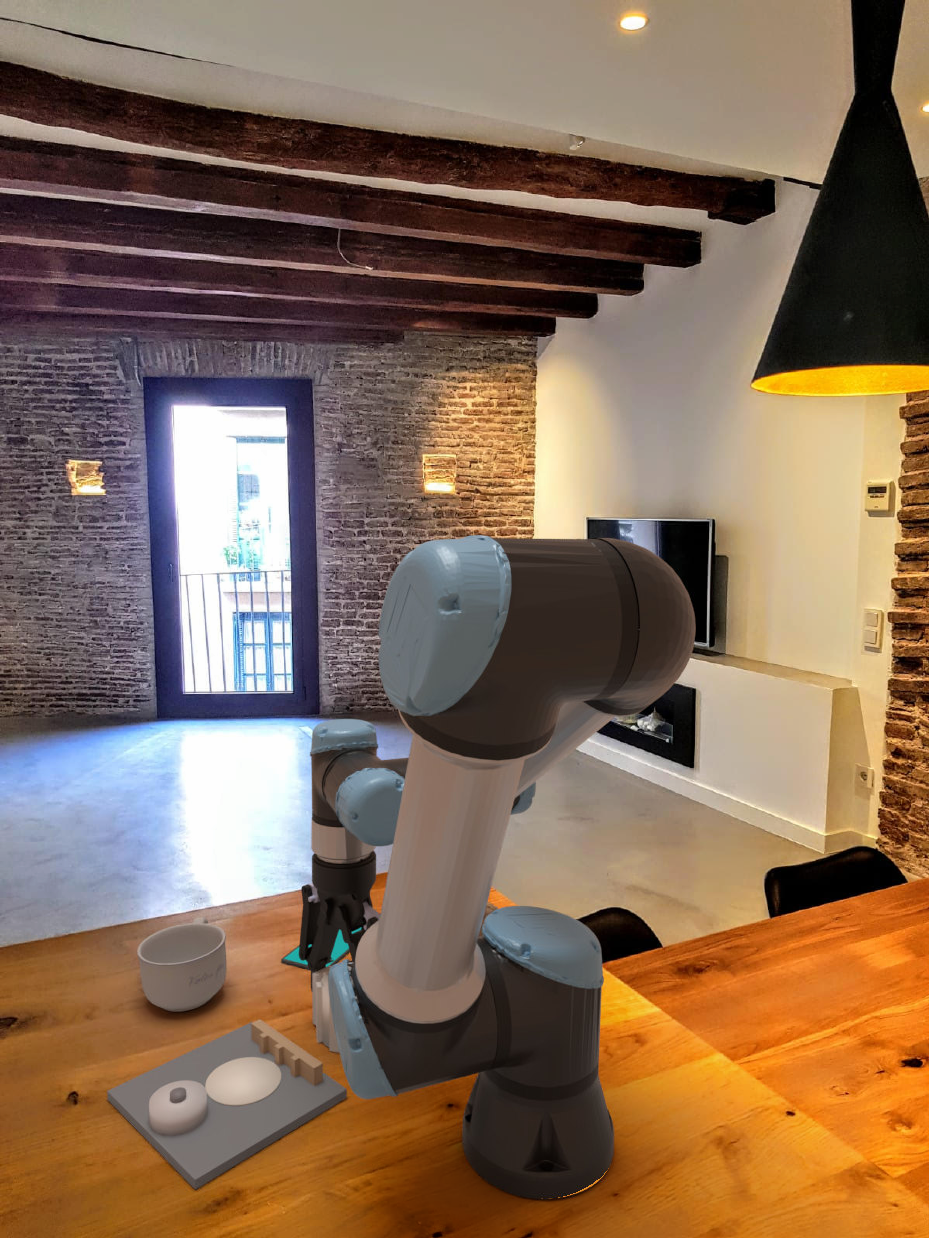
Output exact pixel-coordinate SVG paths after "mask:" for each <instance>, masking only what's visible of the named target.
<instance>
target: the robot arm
mask: <svg viewBox="0 0 929 1238" xmlns="http://www.w3.org/2000/svg"><path fill="white" fill-rule="evenodd" d="M382 603H383V604H382V607H381V611H380V612H381V613H380V618H379V625H378V638H379V639H380V645H379V649H378V655H377V657H378V659H377V660H378V667H379V674H380V675H379V676H380V679H381V684H382V687H383V690H384V692H385V695H386V697H387V698H388V699H387V700H389V702H390V704H391V705H392V706H393V707H394V708H396V710H398V711H397V712H398V713H399V716H400V719H401V721H402V723H403V724H404V726H405V727H406V728H407V730H408V731H409V732H410V733H411V734H412V738H411V743H410V748H409V753H408V757H402V758H391V759H381V758H380V757H378V756H377V755H378V749H379V744H378V739H377V730H376V728H375V726H374V725H373V723H371V722H369V721H366V720H362V719H357V718H356V719H355V718H342V719H339V718H338V719H330V720H326V721H323V722H320V723H318V724H317V725H315V727H314V728H313V730H312V732H311V733H312V734H311V747H310V752H309V757H310V759H311V763H310V765H311V837H310V838H311V840H310V841H311V843H310V844H311V846H310V848H311V851H312V853H313V854H312V856H311V882H309V883H307V884H305V885H302V886H301V889H300V890H301V896H302V897H301V899H302V912H301V922H300V923H301V925H300V935H299V945H298V946H299V958H300V959H301V960H302V961H304V960H306V961H307V962H308V968H309V970H308V971H310V991H311V994H312V996H311V997H312V1025H315V1026H316V982H321V979H322V978H323V973H324V972H326V971H328V970H329V973H328V989H329V998H330V1006H331V1012H332V1018H333V1024H334V1030H335V1035H336V1040H337V1044H338V1048H339V1056H340V1060H341V1061H340V1062H341V1064H342V1068H343V1071H344V1075H345V1079H346V1080H347V1083H348V1085H349V1087H350V1089H351V1091H352V1092H353V1094H354V1095H356V1096H357V1097H358V1098H361V1099H363V1100H372V1099H378V1098H383V1097H389V1096H390V1097H398V1096H399V1095H401V1094H404V1093H407V1092H411V1091H416V1090H420V1089H425V1088H427V1087H431V1086H434V1085H438V1084H442V1083H446V1082H450V1081H453V1080H458V1079H461V1078H465V1077H468V1076H473V1075H476V1074H477V1075H476V1078H475V1081H474V1084H473V1086H472V1089H471V1091H470V1095H469V1097H468V1100H467V1103H466V1105H465V1108H464V1111H463V1118H462V1133H461V1134H462V1149H463V1153H464V1156H465V1158H466V1160H467V1162H468V1163H469V1165H470V1166H471V1167H472V1169H473V1170H474V1172H476V1174H478V1175H479V1176H480V1177H481V1178H482V1179H483V1180H484V1181H486V1182H487V1183H489V1184H490V1185H491V1186H493V1187H495V1188H497V1189H499V1190H501V1191H503V1192H504V1193H505V1192H506V1193H508V1194H511V1195H514V1196H518V1197H521V1198H525V1197H526V1198H527V1199H532V1198H534V1200H550V1199H549V1198H558V1197H563V1196H567V1195H570V1194H573V1193H576V1192H578V1191H580V1190H582V1189H584V1188H586V1187H588V1186H589V1185H591V1184H593V1183H594V1182H595V1181H596V1180H598V1179H600V1178H601V1177H602V1176H603V1175H604V1173H605V1172H606V1171H607V1170H608V1168H609V1166H610V1164H611V1165H612V1163H611V1161H612V1162H613V1160H612V1158H614V1152H615V1151H614V1149H615V1148H614V1145H615V1143H614V1142H615V1129H614V1124H613V1118H612V1116H611V1114H610V1113H611V1112H610V1111H609V1109H608V1106H607V1103H606V1099H605V1095H604V1090H603V1087H602V1083H601V1081H600V1075H599V1066H600V1065H599V1060H600V1039H601V1015H602V1014H601V1013H602V987H603V985H604V982H605V981H604V980H605V979H604V970H603V957H602V956H603V955H602V947H601V943H600V941H599V939H598V937H597V936H596V934H595V933H594V932H593V931H592V929H590V928H589V927H588V926H587V925H585V924H584V923H583V922H581V921H580V920H578V919H576V918H574V917H571V916H570V915H568V914H565V913H562V912H558V911H556V910H553V909H549V908H543V907H537V906H533V905H532V906H531V905H510V906H504V907H500V908H499V907H498V909H496V910H494V911H493V912H492V913H491V914H489V915H488V916H487V917H486V918H485V921H484V924H483V926H482V934H483V935H482V936H480V937H478V936H479V932H480V928H481V925H482V921H483V917H484V913H485V909H486V905H487V902H489V897H490V894H491V889H492V886H493V881H494V879H495V873H496V870H497V867H498V863H499V859H500V855H501V851H502V848H503V844H504V839H505V836H506V832H507V828H508V824H509V821H510V817H511V816H512V815H518V814H522V813H524V812H526V811H528V809H530V807H531V806H532V804H533V798H534V797H535V796H536V790H537V789H536V788H537V783H536V782H537V781H539V779H541V777H543V776H544V775H545V774H547V772H549V771H550V770H552V769H553V768H555V766H557V765H558V763H560V762H561V761H562V760H563V759H565V758H567V756H569V755H570V754H571V753H572V752H573V751H575V750H576V749H577V748H579V747H580V746H581V745H582V744H583V743H585V742H586V741H587V740H588V739H589V738H592V736H593V735H595V733H597V732H598V731H599V730H601V729H602V728H603V727H604V726H605V725H607V724H608V723H609V722H610V721H612V720H613V719H614V718H615V717H616V718H624V717H630V716H634V715H636V714H640V713H641V712H642V711H644V710H645V709H646V708H648V707H649V706H650V705H651V704H653V703H655V701H657V700H658V699H659V698H661V697H662V696H663V695H664V694H666V692H668V691H669V690H670V689H671V688H672V686H674V684H675V683H676V682H677V681H679V679H680V677H681V676H682V674H683V672H684V671H685V669H686V668H687V665H688V664H689V662H690V659H691V656H692V653H693V650H694V647H695V637H696V627H697V626H696V616H695V611H694V607H693V603H692V601H691V597H690V594H689V592H688V590H687V589H686V586H685V585H684V583H683V581H682V580H681V578H680V576H679V575H678V574H677V573H676V572H675V570H674V568H672V566H670V565H669V564H668V563H667V562H666V561H664V559H662V558H661V557H660V556H659V555H657V554H655V553H654V552H653V551H651V550H650V549H647V548H646V547H644V546H641V545H639V544H635V543H634V542H630V541H626V540H621V539H618V538H613V537H612V538H611V537H591V538H517V537H515V538H509V537H508V538H505V537H504V538H500V537H499V538H497V537H493V538H492V537H491V536H488V535H479V534H478V535H477V534H476V535H468V536H464V537H462V538H451V539H450V538H449V539H448V538H447V539H434V540H430V541H426V542H422V543H421V544H419V545H417V546H416V547H415V548H414V549H413V550H411V551H409V552H408V553H407V554H405V556H404V557H403V559H402V560H401V561H400V562H399V564H398V565H397V566H396V569H395V571H394V572H393V574H392V576H391V579H390V581H389V584H388V586H387V588H386V593H385V595H384V598H383V602H382ZM387 846H392V849H391V853H390V859H389V865H388V871H387V874H386V875H387V876H386V881H385V886H384V893H383V898H382V904H381V909H380V913H379V912H378V911H377V910H376V909H374V906H373V901H372V898H371V890H372V888H373V886H374V884H375V883H376V881H377V853H376V851H375V849H376V847H387ZM359 928H361V930H360V931H357V932H355V933H353V934H352V932H353V931H355V930H357V929H359ZM339 929H340V930H341V932H342V936H343V940H344V942H345V943H347V944H348V946H349V950H350V952H349V954H350V959H351V960H350V959H349V958H347V959H343V960H341V962H338V963H337V964H335V965H333V966H330V965H329V966H327V967H326V964H328V963H330V962H333V961H334V960H331V959H332V958H331V954H332V951H333V948H334V945H335V941H336V938H337V935H338V932H339ZM310 944H312V946H311V947H308V946H309V945H310ZM610 1167H611V1166H610ZM609 1169H610V1168H609ZM608 1171H609V1170H608ZM526 1198H525V1199H526ZM541 1198H543V1199H541Z"/></svg>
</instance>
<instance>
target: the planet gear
mask: <svg viewBox="0 0 929 1238" xmlns="http://www.w3.org/2000/svg"><path fill="white" fill-rule="evenodd" d="M328 973H329V970H328V971H326V972H324V973H323V978H322V979H321V982H316V1025H315V1026H316V1027H315V1029H316V1032H315V1034H316V1036H315V1037H316V1041H317V1044H320V1043H323V1045H324V1046H326V1047H327V1048H328V1049H329V1052H334V1053H339V1048H338V1044H337V1040H336V1035H335V1030H334V1024H333V1018H332V1012H331V1006H330V998H329V989H328ZM339 1054H340V1053H339Z"/></svg>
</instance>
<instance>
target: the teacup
mask: <svg viewBox="0 0 929 1238" xmlns="http://www.w3.org/2000/svg"><path fill="white" fill-rule="evenodd" d="M226 939H227V935H226V933H225V930H223V928H222V927H220V926H218V925H216V924H211V923H209V920H208V919H207V918H206V917H205V916H199V917H196V918H194V920H193V921H192V922H191V923H189V922H188V923H182V924H177V925H172V926H169V927H166V928H162V929H160V930H158V931H156V932H154V933H153V934H150V935H149V936H147V937H146V938H144V939H143V941H141V943H140V944H139V945H138V948H137V950H136V951H137V952H136V954H137V957H138V964H139V972H140V978H141V987H142V990H143V993H144V995H145V997H146V999H147V1000H148V1001H149V1002H150V1004H152V1005H155V1006H156V1007H159V1008H161V1009H163V1010H166V1011H168V1012H177V1013H178V1012H179V1013H180V1012H185V1011H187V1012H188V1011H190V1010H194V1009H197V1008H199V1007H201V1006H204V1005H205V1004H206V1003H207V1002H209V1001H210V1000H211V999H212V998H213V997H214V996H215V995H216V994H217V993H218V992H219V991H220V990H221V988H222V987H223V985H224V982H225V980H226V978H227V977H226V976H227V951H226V950H227V949H226Z"/></svg>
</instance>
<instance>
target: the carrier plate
mask: <svg viewBox="0 0 929 1238" xmlns="http://www.w3.org/2000/svg"><path fill="white" fill-rule="evenodd" d="M323 1065H324V1064H323V1062H322V1061H321V1060H318V1058H316V1057H314V1056H313V1055H312V1054H311V1053H308V1051H306V1050H305V1049H303V1048H301V1047H300V1046H299V1045H297V1044H296V1043H294V1042H293V1041H291V1040H290V1039H289V1038H287V1037H286V1036H284V1035H283V1034H282V1033H280V1032H279V1031H277V1030H276V1029H275V1028H273V1027H272V1026H270V1025H269V1024H268V1023H266V1022H264V1020H261V1019H260V1018H259V1019H256V1020H255V1021H251V1022H249V1023H247V1024H245V1025H243V1026H241V1027H239V1028H236V1029H234V1030H232V1031H230V1032H228V1033H226V1034H224V1035H222V1036H219V1037H218V1038H215V1039H213V1040H211V1041H209V1042H207V1043H205V1044H203V1045H200V1046H199V1047H198V1046H197V1048H195V1049H194V1048H193V1049H192V1050H191V1051H188V1052H186V1053H184V1054H182V1055H180V1056H178V1057H176V1058H173V1059H171V1060H169V1061H167V1062H165V1063H163V1064H161V1065H159V1066H157V1067H154V1068H152V1069H150V1070H148V1071H146V1072H144V1073H142V1074H140V1075H138V1076H136V1077H133V1078H132V1079H129V1080H128V1081H125V1082H123V1083H121V1084H118V1085H117V1086H115V1087H113V1088H111V1089H110V1088H109V1090H107V1092H106V1094H107V1095H106V1096H107V1098H106V1099H107V1101H108V1102H109V1103H110V1104H111V1105H112V1106H113V1107H114V1108H115V1109H116V1110H117V1111H118V1112H119V1113H120V1114H121V1115H122V1117H124V1118H125V1119H126V1120H127V1121H128V1123H130V1124H131V1125H132V1127H133V1128H134V1129H135V1130H137V1132H138V1133H139V1134H140V1135H142V1136H143V1137H144V1139H145V1140H146V1141H147V1142H148V1143H149V1144H150V1145H151V1146H152V1147H153V1148H154V1149H155V1150H156V1151H157V1152H158V1153H159V1154H160V1155H161V1157H162V1158H164V1160H165V1161H167V1162H168V1164H169V1165H170V1166H172V1168H174V1170H175V1171H177V1173H178V1174H179V1175H180V1176H181V1177H182V1178H183V1179H184V1180H185V1181H186V1182H187V1184H189V1185H190V1186H191V1187H192V1188H193V1189H194V1190H198V1189H199V1188H201V1187H202V1186H204V1185H206V1184H207V1183H209V1182H211V1181H213V1180H214V1179H216V1178H217V1177H218V1176H220V1175H223V1174H224V1173H225V1172H227V1171H228V1170H230V1169H232V1168H234V1167H235V1166H237V1165H238V1164H240V1163H242V1162H243V1161H246V1160H247V1159H249V1158H250V1157H251V1156H254V1155H255V1154H257V1153H259V1152H260V1151H262V1150H263V1149H265V1148H267V1147H268V1146H270V1145H272V1144H273V1143H274V1142H277V1141H278V1140H279V1139H282V1138H283V1137H284V1136H286V1135H288V1134H289V1133H291V1132H293V1131H295V1130H296V1129H298V1128H300V1127H301V1126H303V1125H304V1124H306V1123H308V1122H309V1121H311V1120H312V1119H314V1118H316V1117H318V1116H320V1115H322V1114H323V1113H324V1112H325V1111H327V1110H329V1109H331V1108H332V1107H335V1106H336V1105H337V1104H339V1103H340V1102H342V1101H344V1100H345V1099H347V1098H348V1089H347V1088H346V1087H344V1086H343V1085H341V1084H340V1083H339V1082H338V1081H336V1080H335V1079H333V1078H332V1077H331V1076H329V1075H327V1074H326V1073H324V1071H323V1070H324V1066H323Z"/></svg>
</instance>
